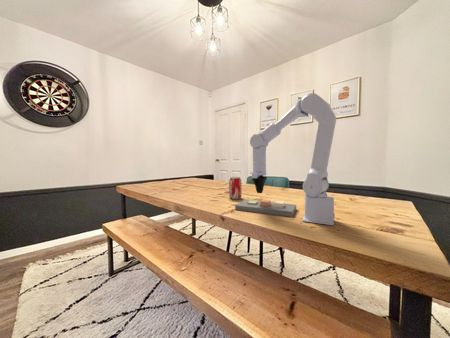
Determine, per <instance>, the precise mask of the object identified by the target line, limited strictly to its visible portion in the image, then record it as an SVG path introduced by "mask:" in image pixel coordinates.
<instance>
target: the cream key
mask: <svg viewBox="0 0 450 338" xmlns="http://www.w3.org/2000/svg"><path fill="white" fill-rule="evenodd" d="M285 202H286V201H282V200H281V201H278V200H276V201H274V202H273V203H274V207H276V208H284V207H285V204H286V203H285Z"/></svg>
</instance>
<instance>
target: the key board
mask: <svg viewBox="0 0 450 338" xmlns="http://www.w3.org/2000/svg"><path fill="white" fill-rule="evenodd" d="M249 201H253V200H252V199H251V200H250V199H244V200H242V201H241V202H238V203H237V204H235V205H234V210H235V211H243V212H249V213H256V214H257V213H259V214H265V215H273V216H282V217H290V218H293V216H294V215H295V212H296V210H297V204H292V203H285V207H284V208H276V207H274V203H275V202H271V206H269V207H267V206H260V201H261V200H257V201H258V204H257V205H249V204H247V202H249Z"/></svg>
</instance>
